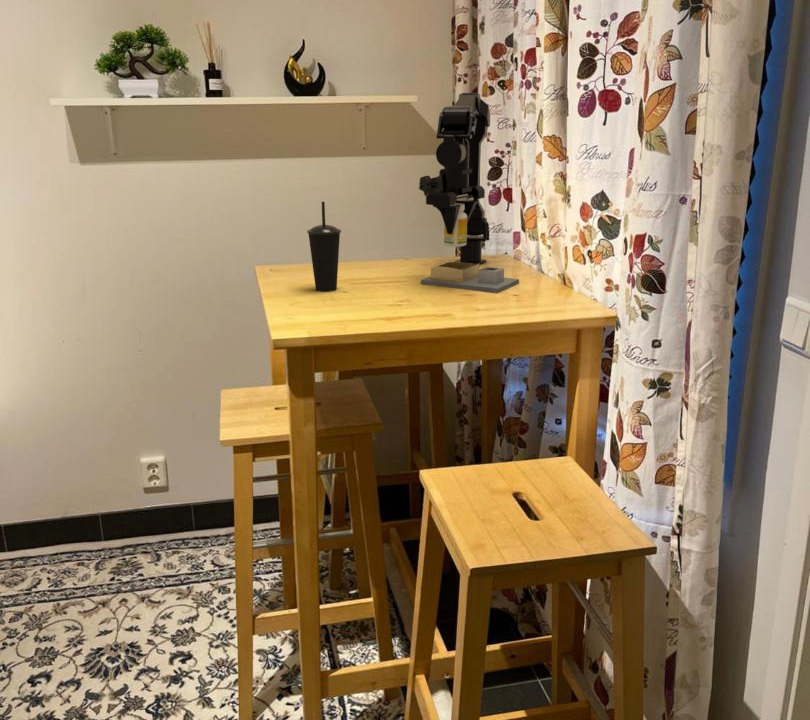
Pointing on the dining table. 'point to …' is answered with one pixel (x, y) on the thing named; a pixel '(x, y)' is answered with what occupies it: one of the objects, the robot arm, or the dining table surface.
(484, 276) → the steel collar
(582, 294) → the dining table surface
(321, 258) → the drinking cup
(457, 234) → the supplement bottle
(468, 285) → the fitting board
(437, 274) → the square wooden frame
